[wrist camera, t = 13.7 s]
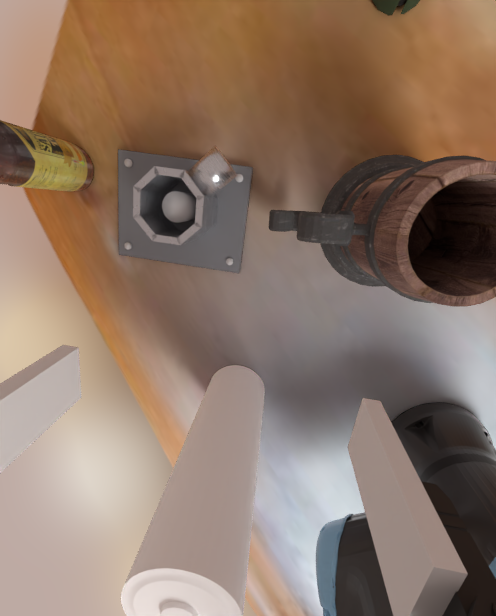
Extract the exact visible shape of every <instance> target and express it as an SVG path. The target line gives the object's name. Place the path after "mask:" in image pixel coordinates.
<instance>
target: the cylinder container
mask: <svg viewBox="0 0 496 616" xmlns="http://www.w3.org/2000/svg"><path fill="white" fill-rule="evenodd" d="M264 397H265V387H264V384H263V381H262V380H261V378H260V377H259V375H258V374H257V373H255V372H254V371H253V370H251V369H249V368H247V367H244V366H240V365H230V366H226V367H223V368H221V369H220V370H218V371H217V372H216V373H215V374H214V375H213V377H212V378H211V381H210V383H209V386H208V388H207V390H206V393H205V395H204V397H203V400H202V402H201V405H200V407H199V409H198V412H197V414H196V416H195V419H194V421H193V423H192V426H191V428H190V431H189V433H188V435H187V438H186V440H185V442H184V445H183V447H182V450H181V452H180V454H179V457H178V459H177V461H176V464H175V466H174V469H173V471H172V473H171V476H170V478H169V481H168V483H167V485H166V488H165V490H164V492H163V495H162V497H161V499H160V502H159V504H158V507H157V509H156V511H155V514H154V516H153V518H152V521H151V523H150V525H149V528H148V530H147V533H146V535H145V537H144V540H143V542H142V545H141V547H140V549H139V551H138V554H137V556H136V559H135V561H134V564H133V566H132V569H131V571H130V573H129V575H128V578H127V580H126V582H125V585H124V587H123V590H122V594H121V602H122V606H123V609H124V611H125V613H126V615H127V616H243V610H244V600H245V590H246V580H247V570H248V560H249V550H250V540H251V530H252V519H253V509H254V499H255V489H256V479H257V469H258V458H259V448H260V438H261V428H262V418H263V408H264Z"/></svg>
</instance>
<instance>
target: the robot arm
mask: <svg viewBox="0 0 496 616" xmlns="http://www.w3.org/2000/svg"><path fill="white" fill-rule="evenodd" d="M80 398H81V381H80V363H79V348H78V347H73V346H67V345H62V346H60V347H59V348H57V349H56V350H54V351H52V352H51V353H49V354H47V355H46V356H44V357H43V358H41V359H39V360H38V361H36V362H35V363H33V364H31V365H30V366H28V367H26V368H25V369H23V370H22V371H20V372H18V373H17V374H15V375H14V376H12V377H10V378H9V379H7V380H5V381H4V382H2V383H1V384H0V473H1V472H2V471H3V470H4V469H5V468H6V467H7V466H8V465H10V464H11V463H12V462H13V461H14V460H15V459H16V458H17V457H18V456H19V455H20V454H21V453H22V452H23V451H24V450H25V449H27V448H28V447H29V446H30V445H31V444H32V443H33V442H34V441H35V440H36V439H37V438H38V437H40V435H42V434H43V433H44V432H45V431H46V430H47V429H48V428H49V427H50V426H51V425H52V424H53V423H54V422H56V421H57V420H58V419H59V418H60V417H61V416H62V415H63V414H64V413H65V412H66V411H67V410H68V409H69V408H70V407H72V406H73V405H74V404H75V403H76V402H77V401H78V400H79V399H80ZM348 450H349V454H350V458H351V461H352V465H353V469H354V472H355V476H356V480H357V483H358V487H359V491H360V495H361V498H362V502H363V506H364V509H365V513H360V514H356V515H353V514H349V515H347V516H346V517H345V518H342V519H339V520H335V521H332V522H329V523H327V524H326V525H324V526H323V528H322V530H321V531H320V535H319V537H318V540H317V547H316V575H317V585H318V593H319V599H320V604H321V606H322V607H323V615H324V616H496V450H495V448H494V446H493V443H492V440H491V437H490V435H489V433H488V431H487V430H486V428H485V427H484V426H483V425H482V424H481V422H480V421H479V420H478V419H477V418H476V417H475V416H474V415H473V414H472V413H470V412H469V411H467V410H466V409H464V408H462V407H459V406H456V405H453V404H448V403H429V404H423V405H419V406H416V407H414V408H411V409H409V410H407V411H406V412H404V413H402V414H401V415H400V416H399V417H397V418H396V419H395V420H394V421H393V423H391V421H390V419H389V417H388V415H387V413H386V411H385V409H384V407H383V405H382V403H381V401H378V400H372V399H366V398H363V399H362V402H361V405H360V408H359V412H358V415H357V418H356V422H355V425H354V428H353V432H352V435H351V438H350V441H349V445H348Z"/></svg>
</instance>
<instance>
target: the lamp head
mask: <svg viewBox="0 0 496 616" xmlns="http://www.w3.org/2000/svg"><path fill="white" fill-rule="evenodd" d="M236 176H237V174H236V173H235V171H234V170H233V168H232V167H231V165H230V164H229V162H228V161H227V160H226V158H225V157H224V156H223V154H222V153H221V152H220V150H219V149H218V148H217V147H216V146H214V147H213V148H212V149H211V150H210V151H209V152H208V153H207V154H206V155H205V156H203V157H202V158H201V159H200V160H199V161H198V162H197V163H196V164H195V165H194V166H193V167H191V168H190V169H189V170H188V171H186V170H180V169H173V168H165V167H158V166H154V167H153V168H152V169H151V170H150V171H149V172H148V173H147V174H146V175H145V176H144V177H143V178H142V179H141V180H139V181H138V182H137V183H136V184H135V185H134V186H133V218H134V219H135V220H136V221H137V223H138V224H139V225H140V226H141V228H142V229H143V230H144V231H145V233H146V234H147V235H148V236H149V238H150V239H151V240H152V241H156V242H162V243H169V244H175V245H182V244H185V243H188V242H191V241H193V240H196V239H199V238H200V237H201V236H202V235H203V234H205V233H206V232H207V231H208V230H210V229H211V228H212V227H213V226H214V225H216V222H217V211H218V201H219V198H218V197H217V196H216V193H218V192H219V191H220V190H221V189H222V188H223V187H225V186H226V185H227V184H228V183H229V182H230V181H232V180H233V179H234V178H235V177H236ZM180 181H184V182H185V184H186V185H187V186H188V188H189V189H190V190H191V192H192V193H193V194H194V196H195V197H196V198H197V200H196V213H195V224H193V225H192V226H191V227H190V228H189V229H187V230H186V231H182V230H178V229H177V228H176V227H175V225H174V224H173V223H172V221H170V220H169V219H168V218H167V217H166V216H165V215H164V213H163V210H162V202H163V199H164V197H165V196H166V195H167V193H168V192H169V191H170V190H171V189H172V188H174V187H175V186H176V185H177V184H178V183H179V182H180Z"/></svg>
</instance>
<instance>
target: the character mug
mask: <svg viewBox="0 0 496 616" xmlns="http://www.w3.org/2000/svg"><path fill="white" fill-rule="evenodd" d="M372 1H373V2H374V4H375V6H376V7H377V9H378V10H380V11H381V12H383V13H385V14H387V15H392V14H393V12H394V10H395V9H396V7H397V6H401V5H403V4H405V3H406V4H405V6H404V8H403V10H402V12H401V14H404V13H406V12H407V11H409V10H410V9H412V8H413V7H415V6H416V5H417V4H418V2H419V1H420V0H372Z"/></svg>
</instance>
